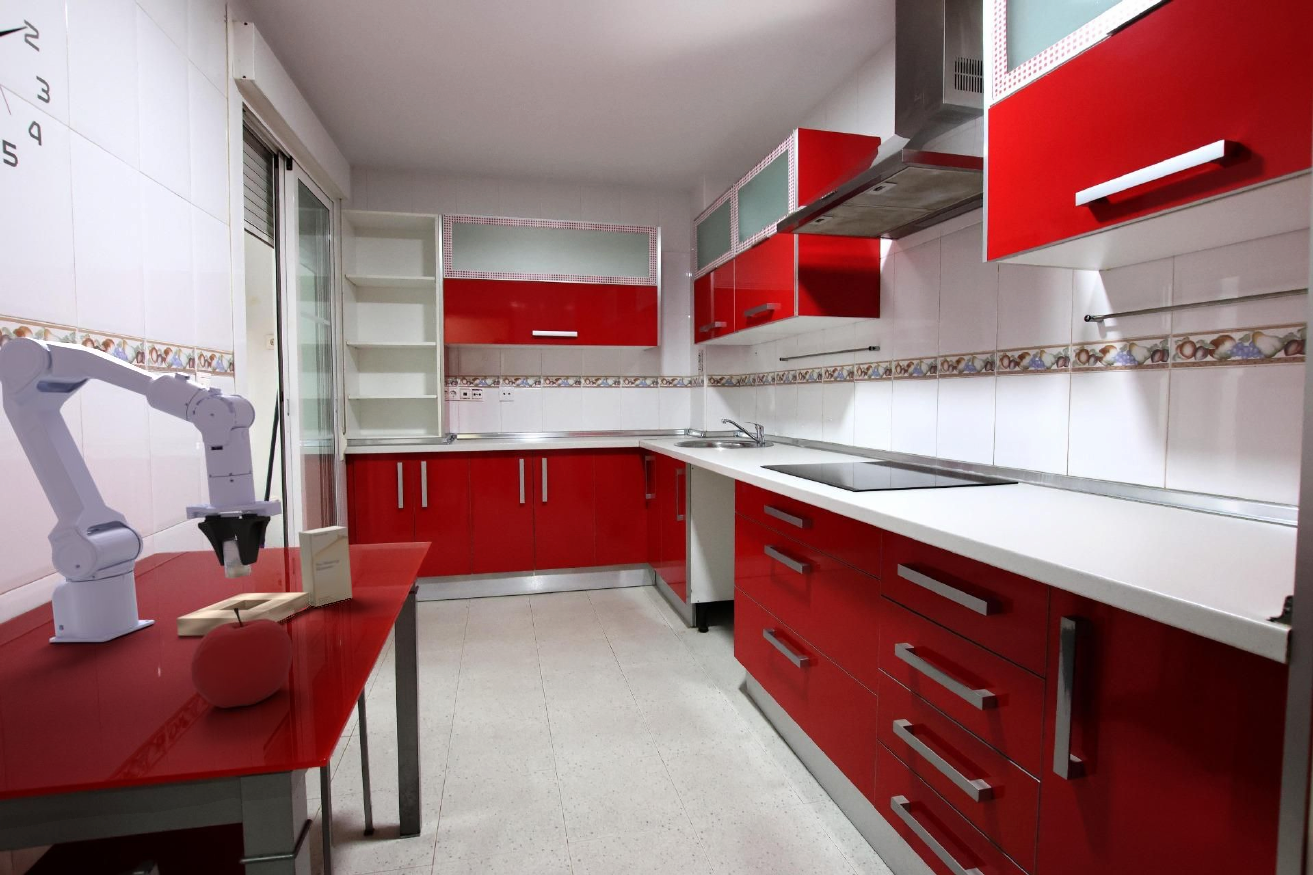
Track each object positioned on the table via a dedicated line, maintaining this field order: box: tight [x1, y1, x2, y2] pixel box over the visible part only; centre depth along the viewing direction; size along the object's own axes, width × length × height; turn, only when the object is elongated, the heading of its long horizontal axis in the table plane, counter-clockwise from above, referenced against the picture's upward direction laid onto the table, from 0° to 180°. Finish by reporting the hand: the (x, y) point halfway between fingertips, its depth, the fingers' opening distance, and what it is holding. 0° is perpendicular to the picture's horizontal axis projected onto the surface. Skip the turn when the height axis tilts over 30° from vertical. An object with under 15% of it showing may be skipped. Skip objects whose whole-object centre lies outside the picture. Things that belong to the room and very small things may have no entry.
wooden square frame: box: [176, 591, 311, 636], centre depth 96 cm, size 12×12×2 cm
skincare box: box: [298, 525, 353, 607], centre depth 104 cm, size 6×4×12 cm
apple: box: [190, 608, 294, 709], centre depth 68 cm, size 9×9×10 cm
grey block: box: [222, 537, 252, 579], centre depth 95 cm, size 3×3×6 cm
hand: (238, 563), depth 96 cm, fingers closed on grey block, 3 cm apart
